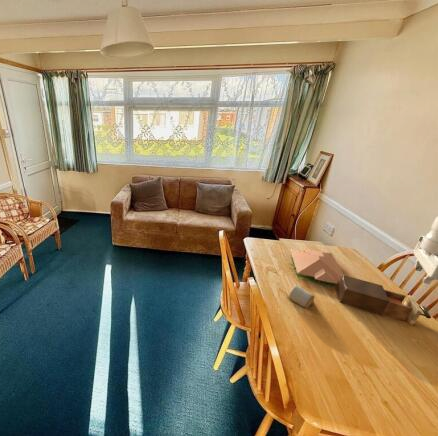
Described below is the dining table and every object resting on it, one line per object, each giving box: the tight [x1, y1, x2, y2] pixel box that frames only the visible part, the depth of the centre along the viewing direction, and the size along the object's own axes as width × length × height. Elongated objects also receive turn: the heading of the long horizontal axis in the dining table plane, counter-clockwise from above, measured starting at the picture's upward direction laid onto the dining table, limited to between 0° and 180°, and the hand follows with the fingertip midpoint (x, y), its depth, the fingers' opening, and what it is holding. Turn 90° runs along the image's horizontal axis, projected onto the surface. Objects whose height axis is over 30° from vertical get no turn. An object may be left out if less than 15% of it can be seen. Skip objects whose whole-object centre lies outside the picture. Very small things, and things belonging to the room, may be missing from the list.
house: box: [290, 247, 345, 288], centre depth 131 cm, size 23×33×8 cm
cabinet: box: [335, 274, 390, 316], centre depth 107 cm, size 15×12×10 cm
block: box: [388, 297, 403, 305], centre depth 101 cm, size 4×4×4 cm
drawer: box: [382, 289, 432, 325], centre depth 100 cm, size 18×10×8 cm, turn 58°
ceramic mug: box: [288, 284, 315, 309], centre depth 108 cm, size 11×8×8 cm
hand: (421, 275), depth 92 cm, fingers open, 8 cm apart
